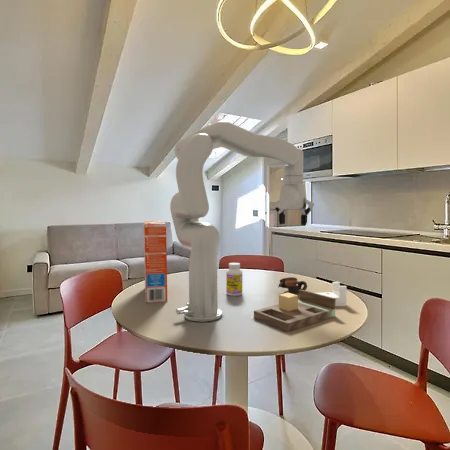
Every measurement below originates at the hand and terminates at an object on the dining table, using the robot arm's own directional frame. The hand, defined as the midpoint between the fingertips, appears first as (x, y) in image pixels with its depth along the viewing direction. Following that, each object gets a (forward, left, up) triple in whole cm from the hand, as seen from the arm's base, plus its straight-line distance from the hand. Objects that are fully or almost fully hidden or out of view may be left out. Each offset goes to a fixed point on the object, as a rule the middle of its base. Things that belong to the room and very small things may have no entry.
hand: (292, 224), depth 137 cm
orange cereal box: (-42, +37, -29) cm, 63 cm away
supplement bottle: (-16, +17, -29) cm, 38 cm away
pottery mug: (+3, +2, -30) cm, 30 cm away
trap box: (-17, -17, -29) cm, 38 cm away
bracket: (+3, -14, -30) cm, 33 cm away
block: (-18, -15, -27) cm, 35 cm away
